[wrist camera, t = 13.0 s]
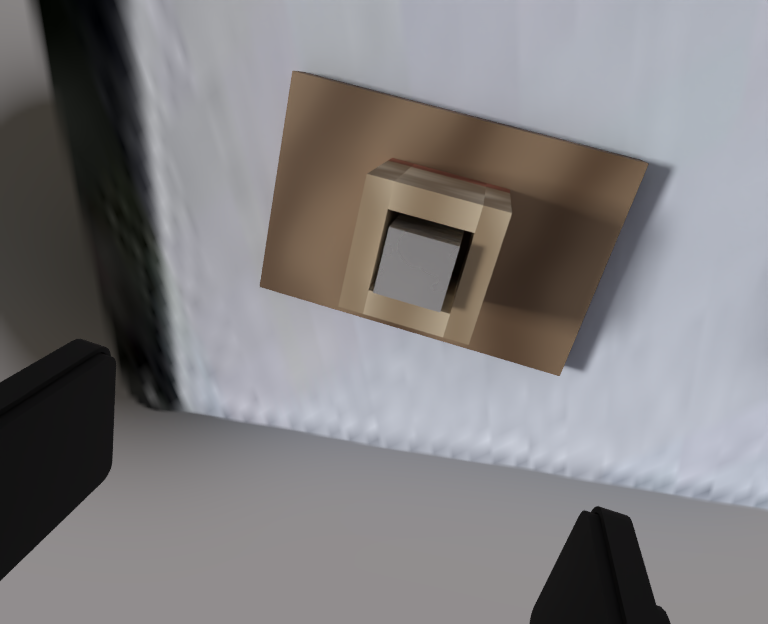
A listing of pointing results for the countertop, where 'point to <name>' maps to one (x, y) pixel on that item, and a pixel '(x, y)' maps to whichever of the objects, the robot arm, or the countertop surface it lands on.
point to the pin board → (519, 247)
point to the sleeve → (438, 204)
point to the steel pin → (418, 261)
